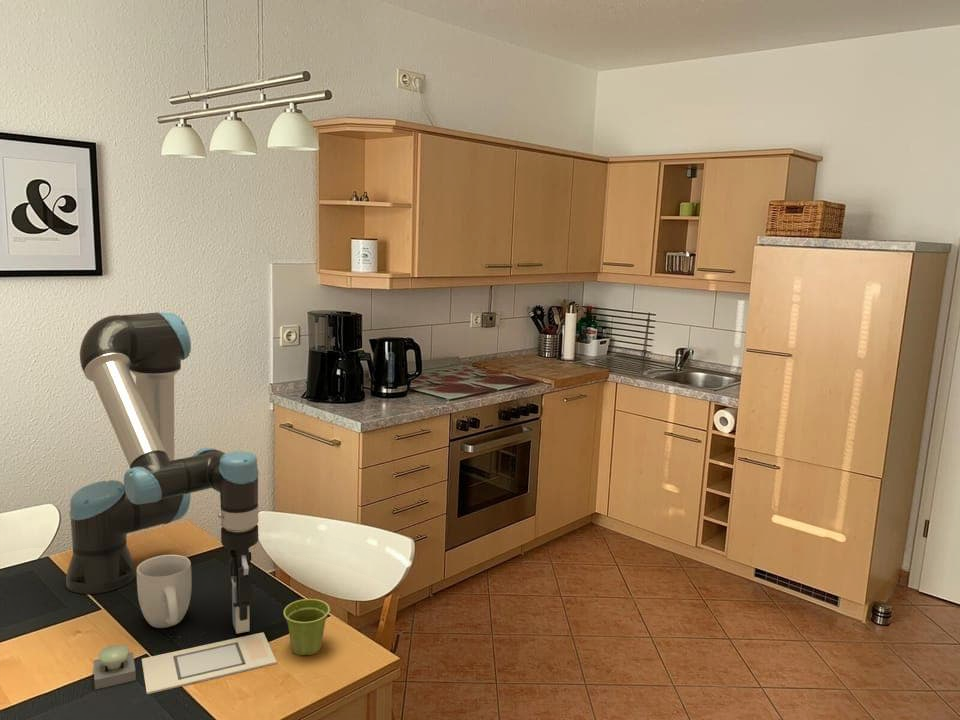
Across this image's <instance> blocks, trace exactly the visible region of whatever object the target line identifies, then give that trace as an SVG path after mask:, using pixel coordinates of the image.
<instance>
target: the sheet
mask: <svg viewBox="0 0 960 720" xmlns="http://www.w3.org/2000/svg"><path fill="white" fill-rule="evenodd" d="M277 664H278V663H277V660H276V657H275V655H274V653H273V651H272V649H271V646H270V643H269V641H268V639H267V637H266V635H265V633H264V631H263V632H259V633H253V634H250V635H245V636H240V637H239V636H238V637H235V638H231V639H227V640H221V641H217V642H212V643H208V644H204V645H203V644H202V645H198V646H194V647H190V648H186V649H181V650H176V651H172V652H166V653H162V654H156V655H153V656H148V657H144V658H143V657H142V658H141V665H142V672H143V679H144V683H145V684H144V685H145V690H146V695H151V694H154V693H155V694H156V693H159V692H163V691H167V690H172V689H175V688H176V689H177V688H180V687H184V686H189V685H192V684H193V685H194V684H196V683H197V684H198V683H201V682H206V681H209V680H214V679H218V678H221V677H226V676H230V675H235V674H239V673H243V672H247V671H251V670H254V669H255V670H257V669H259V668H263V667H268V666H271V665H277Z"/></svg>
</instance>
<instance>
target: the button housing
mask: <svg viewBox="0 0 960 720" xmlns="http://www.w3.org/2000/svg"><path fill="white" fill-rule="evenodd" d="M134 656H135V655H134V651H129V657H128V658H127V659H126V660H125V661H124V662H122V663H121V669H117V670H112V671H108V669H107V666H104V665H101V664H100V663H99V658H97V659H93V682H94V690H95V691H96V690H99V689H104V688H108V687H112V686H117V685H121V684H126V683H129V682H133V681H134V680H135V681H137V674H136V665H135V658H134Z"/></svg>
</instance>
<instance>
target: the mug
mask: <svg viewBox="0 0 960 720" xmlns="http://www.w3.org/2000/svg"><path fill="white" fill-rule="evenodd" d="M192 584H193V583H192V563H191V560H190V559H189V558H188V557H186V556H184V555H180V554H163V555H162V554H161V555H158V556H154V557H151V558H148V559H144V561H141V563H139V564H138V566H136V587H137V588H136V589H137V597H138V598H137V600H138V603H139V607H140V610H141V613H142V615H143V617H144V619H145V620H146V622H147V623H148V624H149V626H151V627H153V628H157V629H165V628H170V627H171V628H172V627H173V626H176V625H178V624H179V623H180V622H182V620H183V619H184V617H185V616H186V613H187V611H188V609H189V606H190V601H191V596H192V588H193V587H192Z"/></svg>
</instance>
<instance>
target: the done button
mask: <svg viewBox="0 0 960 720" xmlns="http://www.w3.org/2000/svg"><path fill="white" fill-rule="evenodd" d="M129 653H130V651H129V647H128V646H127V645H124V644H114V645H110V646H107V647H105V648H103V649H102V650H100V651H99V653H98V659H99V663H100V664H101V665H104V666H107V669H108V671H112V670H117V669H121V663H122V662H124V661H125V660H126V659H127V658H128V657H129Z"/></svg>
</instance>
